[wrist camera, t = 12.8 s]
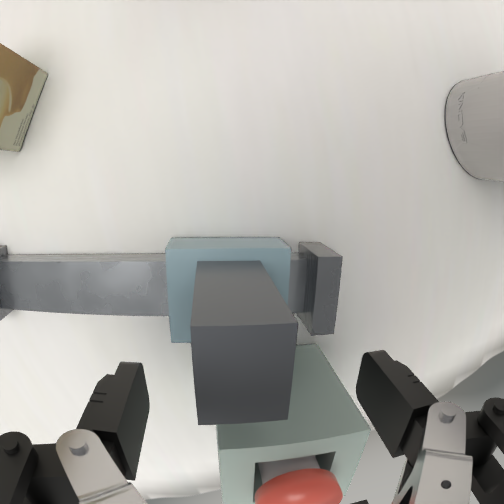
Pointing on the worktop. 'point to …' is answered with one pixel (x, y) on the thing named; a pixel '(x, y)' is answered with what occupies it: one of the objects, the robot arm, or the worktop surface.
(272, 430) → the button housing
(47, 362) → the worktop surface
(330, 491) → the red button
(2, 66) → the skincare box
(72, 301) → the rail
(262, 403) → the carriage
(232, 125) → the worktop surface
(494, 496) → the robot arm
